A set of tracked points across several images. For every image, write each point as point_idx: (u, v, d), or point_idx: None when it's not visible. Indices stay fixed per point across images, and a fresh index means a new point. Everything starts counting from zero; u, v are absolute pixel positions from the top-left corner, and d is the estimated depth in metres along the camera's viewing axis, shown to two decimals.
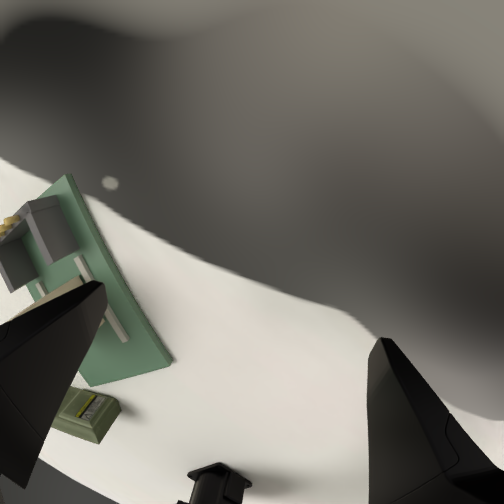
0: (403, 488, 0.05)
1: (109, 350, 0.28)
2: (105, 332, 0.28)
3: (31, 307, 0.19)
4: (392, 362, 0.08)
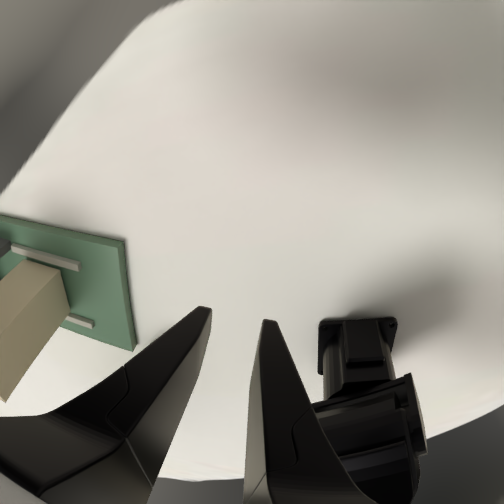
0: (252, 484, 0.05)
1: (91, 293, 0.26)
2: (72, 280, 0.25)
3: None
4: (262, 344, 0.08)
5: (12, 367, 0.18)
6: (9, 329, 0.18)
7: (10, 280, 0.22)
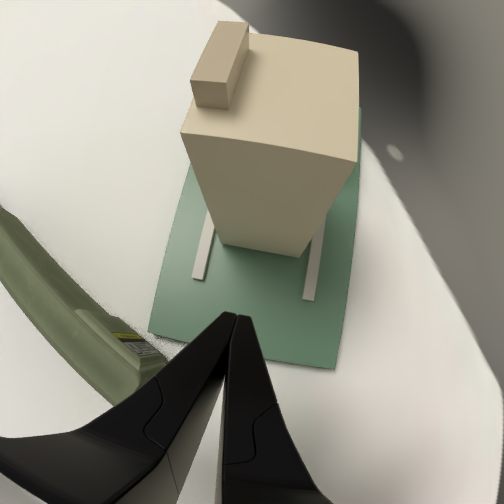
0: (218, 478, 0.05)
1: (258, 300, 0.20)
2: (279, 272, 0.20)
3: None
4: (233, 338, 0.08)
5: (243, 182, 0.11)
6: (317, 213, 0.12)
7: None
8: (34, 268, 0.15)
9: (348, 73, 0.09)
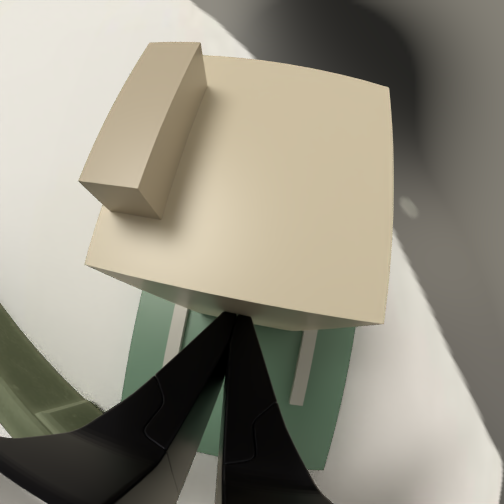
0: (218, 478, 0.05)
1: None
2: None
3: None
4: (233, 338, 0.08)
5: (203, 303, 0.07)
6: (313, 327, 0.09)
7: None
8: None
9: (375, 130, 0.06)
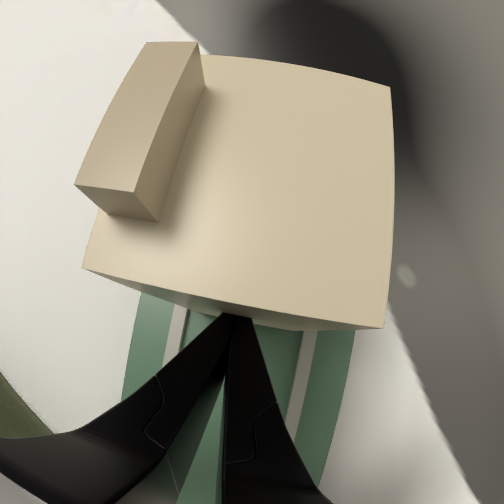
0: (218, 478, 0.05)
1: None
2: None
3: None
4: (233, 338, 0.08)
5: (202, 305, 0.07)
6: (312, 328, 0.09)
7: None
8: None
9: (376, 131, 0.05)
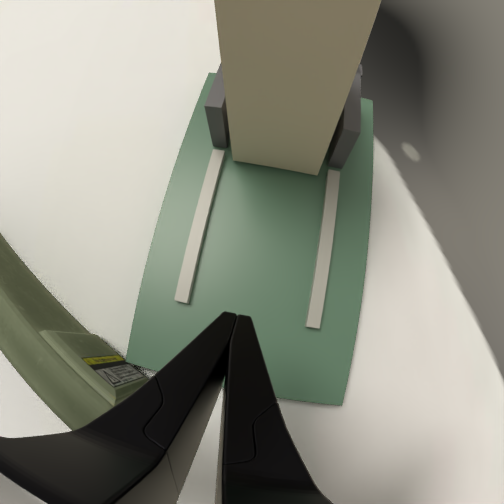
0: (218, 478, 0.05)
1: None
2: (278, 294, 0.17)
3: None
4: (233, 338, 0.08)
5: (267, 39, 0.09)
6: (342, 83, 0.10)
7: None
8: None
9: None
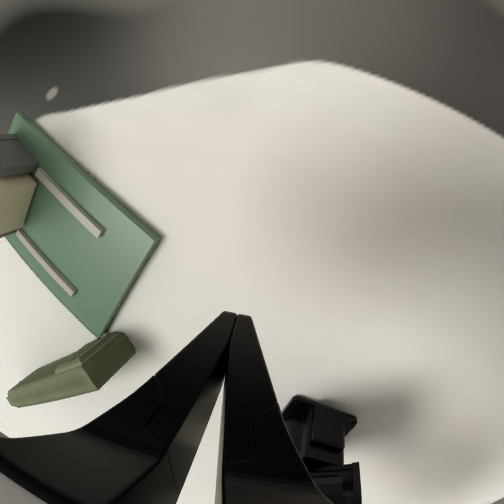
0: (218, 478, 0.05)
1: (93, 264, 0.24)
2: (82, 241, 0.23)
3: None
4: (233, 338, 0.08)
5: None
6: None
7: None
8: (38, 380, 0.23)
9: None
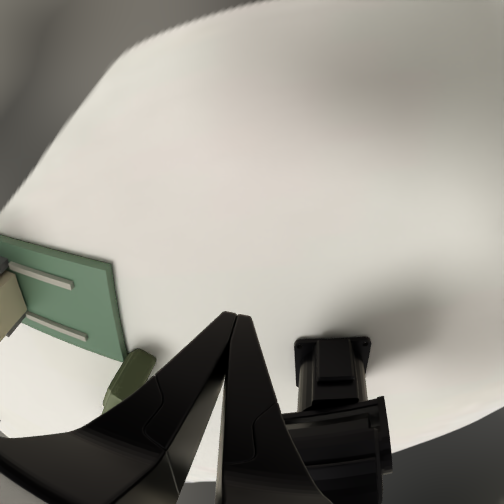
0: (218, 478, 0.05)
1: (83, 309, 0.27)
2: (66, 297, 0.26)
3: None
4: (233, 338, 0.08)
5: None
6: None
7: None
8: None
9: None
